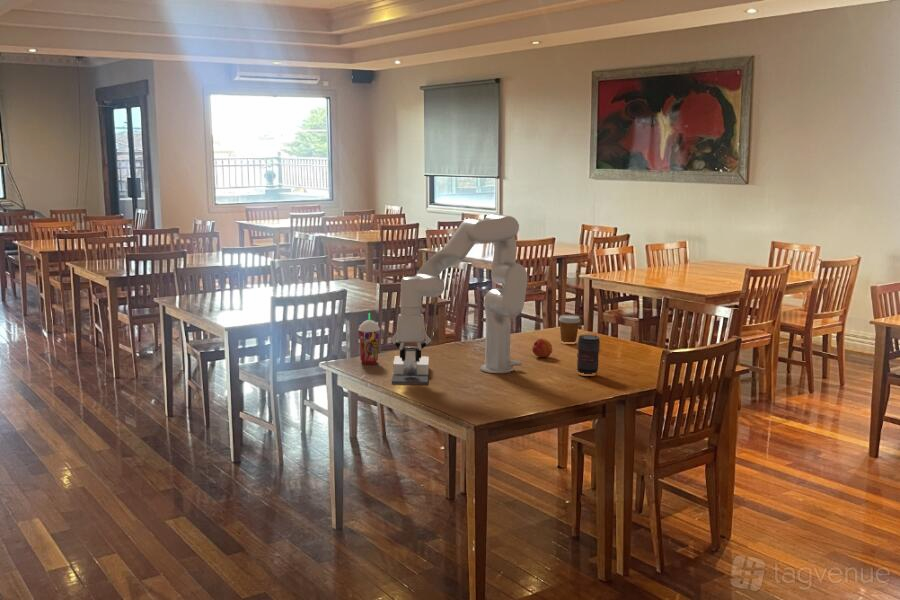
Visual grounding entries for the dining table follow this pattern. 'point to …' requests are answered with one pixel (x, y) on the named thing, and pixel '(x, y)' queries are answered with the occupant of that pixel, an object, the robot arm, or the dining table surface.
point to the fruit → (542, 348)
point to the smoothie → (369, 341)
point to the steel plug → (410, 361)
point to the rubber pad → (409, 379)
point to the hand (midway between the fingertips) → (410, 359)
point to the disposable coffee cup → (569, 327)
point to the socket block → (421, 365)
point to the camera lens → (588, 354)
